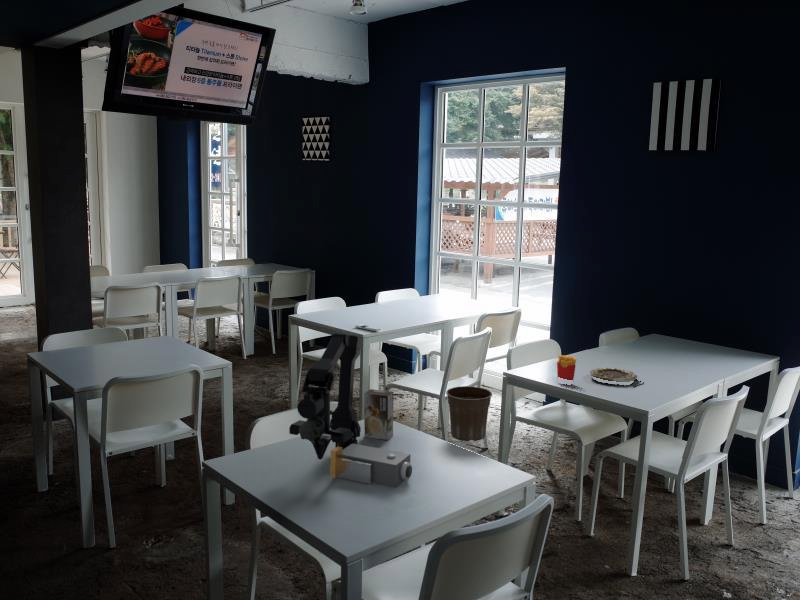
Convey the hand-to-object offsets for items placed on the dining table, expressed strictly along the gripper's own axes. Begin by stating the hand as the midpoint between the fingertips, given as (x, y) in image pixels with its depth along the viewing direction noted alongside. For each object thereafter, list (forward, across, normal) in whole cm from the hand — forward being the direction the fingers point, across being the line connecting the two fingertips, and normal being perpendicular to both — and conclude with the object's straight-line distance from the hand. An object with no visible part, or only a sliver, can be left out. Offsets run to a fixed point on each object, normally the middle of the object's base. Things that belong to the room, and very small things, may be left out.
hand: (320, 459), depth 213 cm
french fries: (+6, +41, +147) cm, 153 cm away
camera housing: (+6, +14, +9) cm, 18 cm away
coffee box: (+6, -2, +42) cm, 43 cm away
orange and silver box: (+6, +10, +1) cm, 12 cm away
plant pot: (+6, +26, +57) cm, 63 cm away
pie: (+7, +59, +164) cm, 174 cm away
